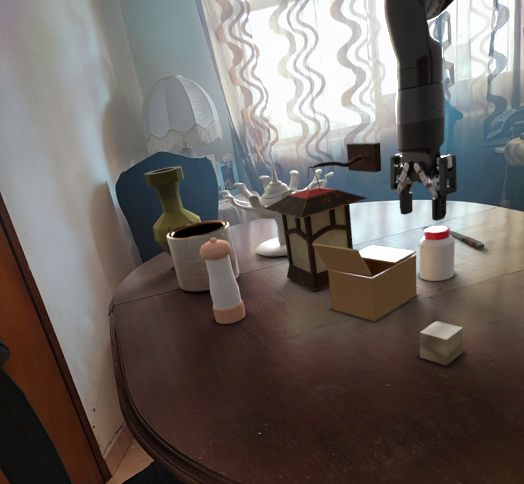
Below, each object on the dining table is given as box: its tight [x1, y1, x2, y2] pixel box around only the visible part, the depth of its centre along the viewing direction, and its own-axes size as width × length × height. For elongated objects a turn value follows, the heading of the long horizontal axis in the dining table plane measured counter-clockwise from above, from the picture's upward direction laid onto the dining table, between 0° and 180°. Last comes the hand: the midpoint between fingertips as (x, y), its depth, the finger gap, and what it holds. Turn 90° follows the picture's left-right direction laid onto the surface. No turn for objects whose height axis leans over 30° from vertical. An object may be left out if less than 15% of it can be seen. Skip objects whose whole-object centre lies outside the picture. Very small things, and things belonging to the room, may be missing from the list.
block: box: [419, 320, 464, 367], centre depth 79 cm, size 5×5×5 cm
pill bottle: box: [418, 225, 456, 282], centre depth 108 cm, size 8×8×11 cm
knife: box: [424, 226, 485, 249], centre depth 132 cm, size 28×1×5 cm
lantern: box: [265, 142, 382, 292], centre depth 116 cm, size 18×26×30 cm
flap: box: [312, 243, 372, 276], centre depth 92 cm, size 7×12×1 cm
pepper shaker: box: [200, 238, 246, 325], centre depth 105 cm, size 7×7×19 cm
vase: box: [144, 165, 202, 271], centre depth 146 cm, size 16×16×30 cm
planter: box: [167, 219, 240, 293], centre depth 131 cm, size 18×18×16 cm
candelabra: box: [219, 162, 334, 258], centre depth 144 cm, size 34×35×27 cm
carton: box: [328, 244, 418, 322], centre depth 101 cm, size 15×12×10 cm
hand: (421, 216), depth 83 cm, fingers open, 8 cm apart
